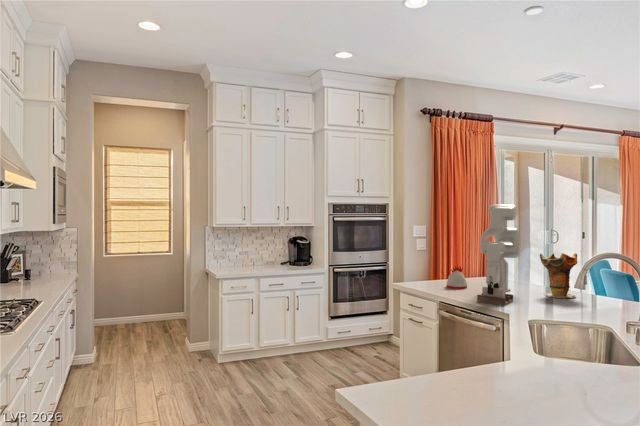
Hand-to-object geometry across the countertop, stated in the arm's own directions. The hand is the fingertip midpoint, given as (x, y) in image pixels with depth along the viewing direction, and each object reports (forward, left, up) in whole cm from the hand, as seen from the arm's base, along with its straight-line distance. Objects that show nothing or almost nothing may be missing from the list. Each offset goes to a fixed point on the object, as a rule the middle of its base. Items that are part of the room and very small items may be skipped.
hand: (493, 293), depth 264 cm
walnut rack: (-4, 0, -6) cm, 7 cm away
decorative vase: (-47, +25, -6) cm, 54 cm away
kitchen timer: (-36, -37, -6) cm, 52 cm away
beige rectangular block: (0, 0, -4) cm, 4 cm away
